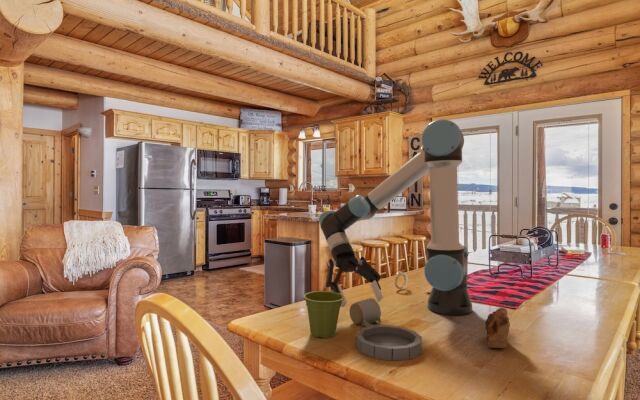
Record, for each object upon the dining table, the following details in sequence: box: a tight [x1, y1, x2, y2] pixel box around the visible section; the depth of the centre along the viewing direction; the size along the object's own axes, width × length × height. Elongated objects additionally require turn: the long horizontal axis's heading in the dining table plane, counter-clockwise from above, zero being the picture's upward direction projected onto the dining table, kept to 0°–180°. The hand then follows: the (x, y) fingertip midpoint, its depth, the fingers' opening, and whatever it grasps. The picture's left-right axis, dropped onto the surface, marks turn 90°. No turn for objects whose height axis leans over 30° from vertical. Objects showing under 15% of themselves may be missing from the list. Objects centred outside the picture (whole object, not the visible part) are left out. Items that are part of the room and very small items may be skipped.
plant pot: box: [303, 290, 345, 339], centre depth 117 cm, size 12×12×11 cm
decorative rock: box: [484, 307, 511, 349], centre depth 110 cm, size 12×6×11 cm, turn 159°
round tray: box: [355, 324, 423, 362], centre depth 108 cm, size 17×17×3 cm
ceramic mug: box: [348, 297, 382, 327], centre depth 126 cm, size 10×8×7 cm
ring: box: [393, 270, 408, 291], centre depth 170 cm, size 7×3×8 cm, turn 120°
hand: (363, 302), depth 128 cm, fingers open, 13 cm apart
